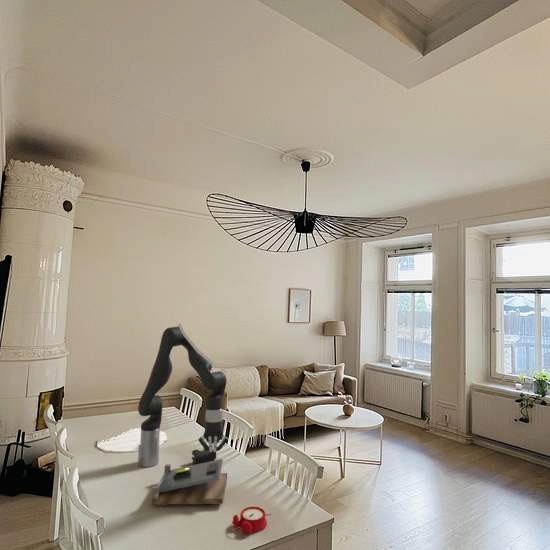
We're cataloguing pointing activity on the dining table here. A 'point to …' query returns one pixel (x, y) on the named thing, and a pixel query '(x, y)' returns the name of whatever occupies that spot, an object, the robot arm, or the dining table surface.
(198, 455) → the black camera
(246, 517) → the alarm clock
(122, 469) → the dining table surface
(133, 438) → the white flat irregular sheet
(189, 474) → the plate
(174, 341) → the robot arm
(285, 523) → the dining table surface
